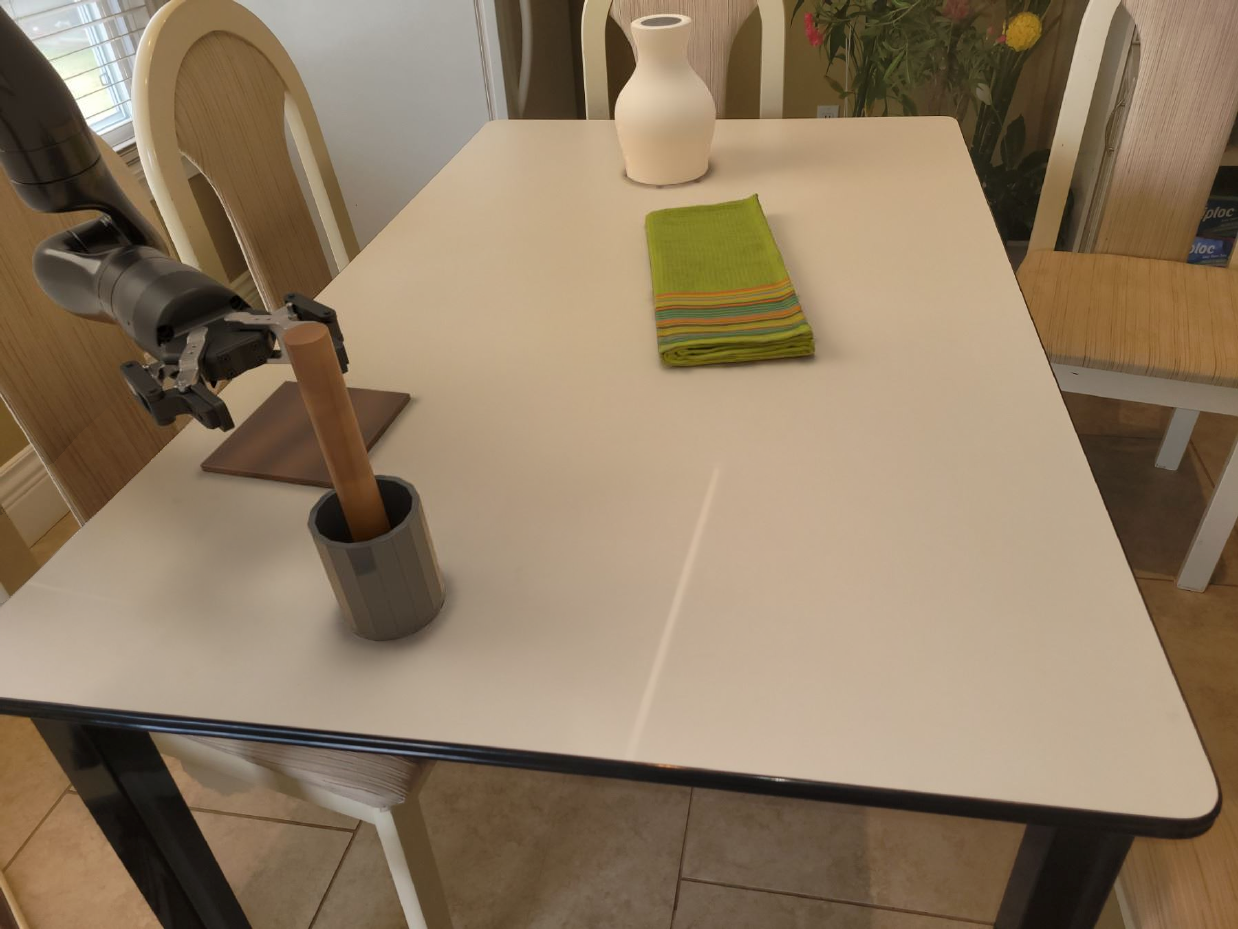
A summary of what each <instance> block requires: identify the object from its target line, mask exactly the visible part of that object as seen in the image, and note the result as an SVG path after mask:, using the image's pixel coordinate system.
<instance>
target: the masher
mask: <svg viewBox="0 0 1238 929" xmlns="http://www.w3.org/2000/svg"><path fill="white" fill-rule="evenodd" d="M283 342H284V345H285V348H286V351H287V354H288V356H289V359H290V362H291V364H290V365H291V368H292V370H293V373H294V376H295V379H296V382H298V385H299V388H300V390H301V393H302V396H303V399H304V402H305V405H306V407H307V410H308V413H309V416H310V419H311V422H312V424H313V427H314V430H315V433H316V436H317V439H318V441H319V444H320V447H321V450H322V453H323V456H324V458H325V461H326V464H327V467H328V470H329V473H330V475H331V478H332V481H333V484H334V487H335V490H336V492H337V495H338V498H339V501H340V504H341V507H342V509H343V512H344V515H345V518H346V521H347V524H348V526H349V529H350V532H351V535H352V538H353V541H354V543H356V542H363V541H369V540H372V539H374V538H377V537H380V536H382V535H385V534H387V533H389V532H390V531H391V527H390V524H389V521H388V518H387V515H386V512H385V508H384V505H383V502H382V499H381V496H380V492H379V489H378V486H377V483H376V480H375V476H374V475H375V473H374V471H373V470H374V469H373V468H372V464H371V460H370V458H369V454H368V452H367V451H366V448H365V445H364V441H363V438H362V435H361V432H360V429H359V425H358V422H357V419H356V416H355V413H354V409H353V406H352V403H351V400H350V397H349V394H348V390H347V387H348V386H347V385H346V380H345V378H344V374H342V371H341V368H340V365H339V362H338V358H337V355H336V352H335V349H334V346H333V343H332V339H331V336H330V333H329V330H328V327H327V326H326V325H325V324H322V323H318V322H310V323H304V324H300V325H297V326H294V327H292V328H291V329H289V330H288V331H286V332H285V333H284V335H283Z"/></svg>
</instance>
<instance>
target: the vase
mask: <svg viewBox="0 0 1238 929" xmlns="http://www.w3.org/2000/svg"><path fill="white" fill-rule="evenodd" d="M692 30H693V21H692V18H691V17H690V16H687V15H683V14H678V13H660V14H650V15H645V16H642V17H639V18H636V19H634V20H633V21H632V22H630V31H631V35H632V38H633V41H634V43H635V44H634V45H635V47H636V50H637V62H636V65H635V69H634V71H633V73H632V74H631V76H630V78H629V79H628V81H627V82H626V84H625V85H624V86H623V88H622V89H621V90H620V93H619V94H618V97H617V99H616V102H615V106H614V123H615V128H616V134H617V136H618V141H619V145H620V148H621V151H622V155H623V158H624V163H625V172H626V176H627V177H628V178H629V179H631V180H633V181H634V182H638V183H641V184H644V185H655V186H668V185H677V184H683V183H688V182H690V181H695V180H696V179H698V178H700V177H702V176H704V175H705V174H706V172H707V171H708V169H709V158H710V152H711V148H712V142H713V138H714V134H715V128H716V127H715V126H716V120H717V111H716V110H717V109H716V104H715V100H714V97H713V95H712V93H711V92H710V90H709V88H708V86H707V84H706V83H705V82H704V81H703V79H702V78H701V77H700V76H699V75H698V74H697V72H695V70H694V68H693V67H692V66H691V64H690V62H689V58H688V46H689V41H690V38H691V35H692Z"/></svg>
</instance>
